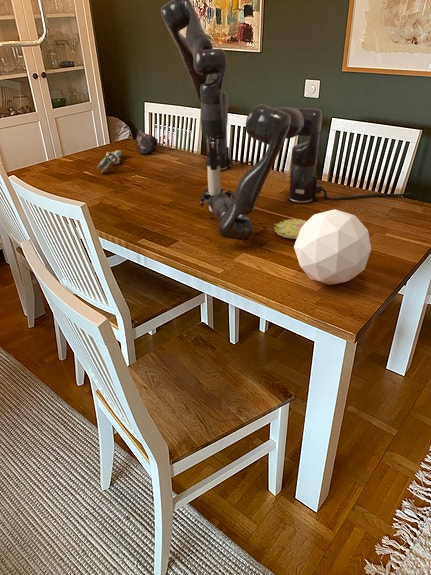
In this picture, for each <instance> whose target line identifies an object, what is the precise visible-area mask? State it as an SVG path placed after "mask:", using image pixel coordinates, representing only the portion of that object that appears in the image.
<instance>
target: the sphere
mask: <svg viewBox="0 0 431 575" xmlns="http://www.w3.org/2000/svg"><path fill="white" fill-rule="evenodd" d="M306 221H307V222H306V223H305V224H304V225H303V226H302V227H301V229H300V232H299V234H298V237H297V239H295V242H294V244H293V249H294V252H295V255H296V258H297V261H298V265H299V266H300V269H302V271H303V272H304V273H305V275H306V276H307V277H308V278H309V279H310V280H312V281H316V282H319V283H322V284H325V285H328V286H331V285H336V284H342V283H346V282H348V281H351V280H352V279H354V278H356V277H357V276H358V275H359V274H361V273H362V272H363V271H364V270H365V269H366V266H367V264H368V260H369V257H370V254H371V252H372V245H371V239H370V234H369V233H370V232H369V230H368V228H366V226H365V225H364V224H363V223H362V221H361V220H360V219H359V218H358V217H357V216H356V215H355V214H351V213H349V212H345V211H342V210H338V209H335V208H334V209H331V210H327V211H322V212H318V213H315V214H313V215H312V216H311V217H310V218H309V219H308V220H306Z"/></svg>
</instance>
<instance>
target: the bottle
mask: <svg viewBox="0 0 431 575" xmlns="http://www.w3.org/2000/svg"><path fill="white" fill-rule="evenodd" d="M206 170H207V190H208V192H209V193H212V194H214V195H217V194H220V193H221V188H222V181H221V180H222V178H221V171H220V165H219V166H217V170H211V168H210V166H207V165H206ZM208 211H210V212H212V213H213V211H212V209H211V207H210V206H209V205H208Z"/></svg>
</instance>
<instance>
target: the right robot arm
mask: <svg viewBox="0 0 431 575" xmlns="http://www.w3.org/2000/svg"><path fill="white" fill-rule="evenodd" d="M322 123H323V114H322V110H321V109H319V108H311V107H297V108H295V107H291V106H284V107H281V106H279V107H273V106H270V105H268V104H264V103H261V104H257V105H255V106H254V107H253V108H252V109H251V110H250V111H249V113H248V114H247V117H246V120H245V132H246V134H247V135H248V136H249V137H250V138H251V139H254V140H256V141H258V142H260V143H263V144H266V145H268V147H267V148H266V152H265V153H264V155H263V156H262V158H261V159H260V160H259V161H258V162H257V163H255V165H253V166H252V167H251V168H250V169H248V170H247V171H246V172H245V173H244V174H243V175H242V176H241V178H240V179H239V180H238V184H237V185H236V188H235V192H233V191H231V190H227V191H226V190H225V189H224V188H222V187H221V193H220V194H217V195H214V194H212V193H209V192H208V188H205V189H204V190H203V193H200V196H199V206H200V207H204V205H207V206H208V207H209V206H210V207H211V209H212V211H213V212H212V211H211V212H212V213H213V215H214V217H215V218H216V219H217V220H218V222H219V223H218V233H219V235H220V237H221V238H224V239H229V240H235V241H244V242H245V241H247V240H249V239H250V238H252V236H253V234H254V224H253V222H252V220H251V219H250V218H249V217H248V216H247V215H248V214H252V213H254V211H255V209H256V207H257V204H258V200H259V198H260V195H261V193H262V192H261V191H262V190H263V186H264V184H265V182H266V180H267V178H268V176H269V173H270V172H271V170H272V168H273V166H274V164H275V162H276V160H277V159H278V156H279V153H280V151H281V150H282V147H283V145H284V144H285V141H286V140H288V139H293V138H295V137H297V136H299V137H300V136H301V137H308V140H306V141H305V142H300V143H297V144H295V145H293V146H292V148H291V161H290V175H289V190H288V201H290V202H291V203H294V204H299V205H300V204H304V205H305V204H309V203H312V202H315V201H316V196H317V195H318V194H322V192H323V197H324V199H325V200H329V201H341V200H353V199H363V198H372V197H406V196H410V197H412V198H417V195H415V194H414V193H412V192H404V193H371V194H360V195H352V196H351V195H349V196H340V197H333V198H331V197H329V196H328V191H327V190H326V189H325V188H323V186H322V185H321V184H319V182H318V176H317V175H316V173H317V160H318V152H319V144H320V135H321V129H322Z"/></svg>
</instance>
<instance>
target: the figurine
mask: <svg viewBox="0 0 431 575" xmlns="http://www.w3.org/2000/svg"><path fill="white" fill-rule="evenodd" d="M122 153H123V152H122V150H115V151H111V152H110V151H107V152H106V153H105V155H106V156H104V157H103V158H102V159H101V161H100V162H99V163H98V165H97V167H96V169H97V170H100V173H101V174H104V173H105V172H106V171H107V170H108V169H109V168H110V167H111V166H112V165H119V164H120V160H121V158H122V157H123V154H122Z"/></svg>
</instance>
